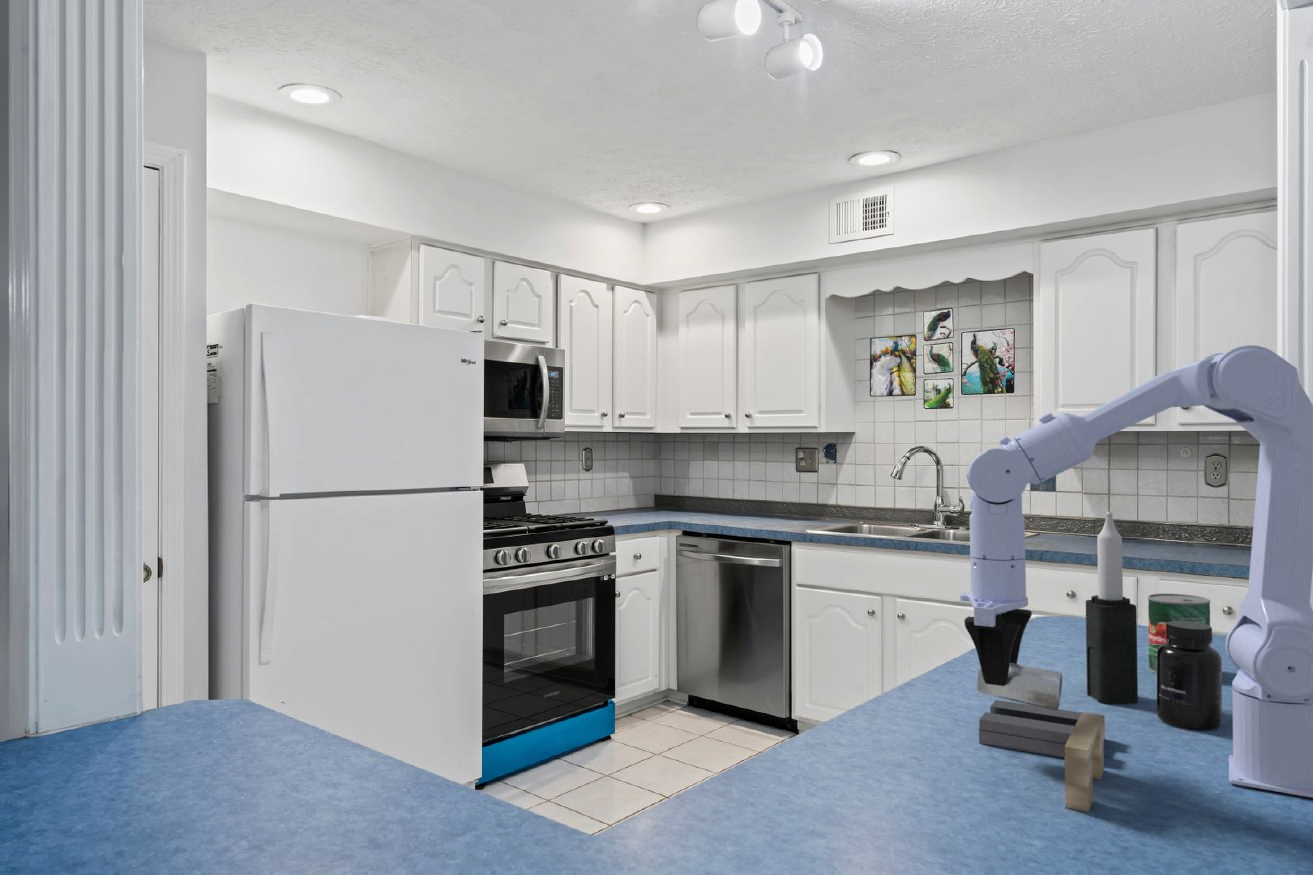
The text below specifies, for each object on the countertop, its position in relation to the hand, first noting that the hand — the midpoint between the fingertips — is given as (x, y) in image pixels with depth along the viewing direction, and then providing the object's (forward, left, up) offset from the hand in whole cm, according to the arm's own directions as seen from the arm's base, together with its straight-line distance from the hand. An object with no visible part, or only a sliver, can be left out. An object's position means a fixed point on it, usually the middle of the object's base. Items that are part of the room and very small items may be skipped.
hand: (999, 679), depth 96 cm
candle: (-8, -29, -9) cm, 31 cm away
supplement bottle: (-17, -23, -9) cm, 30 cm away
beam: (-9, +5, -8) cm, 13 cm away
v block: (-3, -7, -8) cm, 11 cm away
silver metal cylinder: (-2, 0, -2) cm, 3 cm away
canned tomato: (-15, -48, -9) cm, 51 cm away
